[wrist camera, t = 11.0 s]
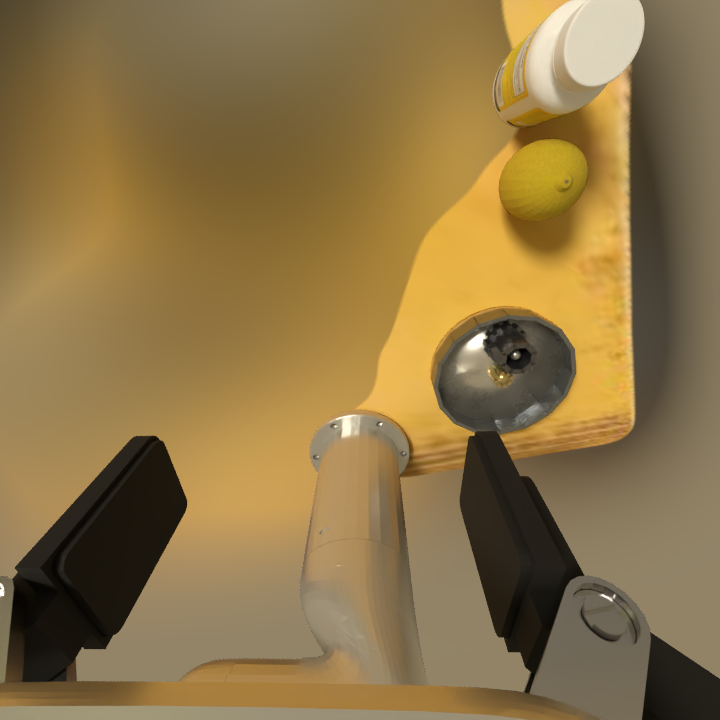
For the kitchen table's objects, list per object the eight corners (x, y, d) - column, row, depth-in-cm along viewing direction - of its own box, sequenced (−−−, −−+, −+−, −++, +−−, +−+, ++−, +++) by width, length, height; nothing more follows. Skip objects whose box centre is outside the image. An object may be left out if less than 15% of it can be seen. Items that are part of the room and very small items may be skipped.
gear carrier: (507, 434, 42) (523, 463, 38) (407, 390, 40) (412, 417, 35) (590, 341, 36) (621, 363, 32) (479, 282, 34) (496, 298, 29)
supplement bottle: (576, 85, 26) (679, 38, 18) (516, 144, 28) (582, 129, 20) (537, 19, 25) (629, -67, 16) (476, 88, 27) (529, 43, 18)
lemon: (565, 156, 29) (630, 149, 21) (531, 224, 31) (579, 237, 24) (505, 134, 28) (552, 118, 21) (475, 205, 30) (508, 212, 23)
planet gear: (520, 356, 36) (537, 377, 32) (480, 358, 36) (493, 379, 32) (526, 320, 34) (545, 337, 30) (484, 322, 34) (498, 340, 31)
